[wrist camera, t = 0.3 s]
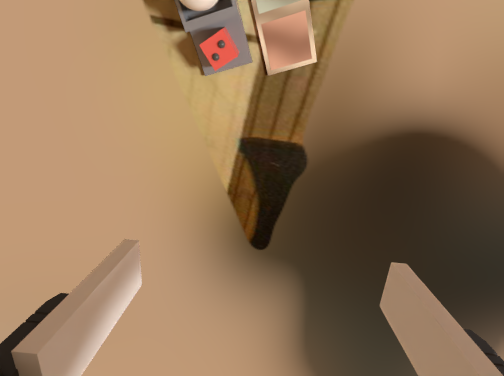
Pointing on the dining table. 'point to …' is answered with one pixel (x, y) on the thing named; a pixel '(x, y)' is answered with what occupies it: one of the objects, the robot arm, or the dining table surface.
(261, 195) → the dining table surface
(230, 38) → the grey compartment tray
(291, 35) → the wooden double picture frame
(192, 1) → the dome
